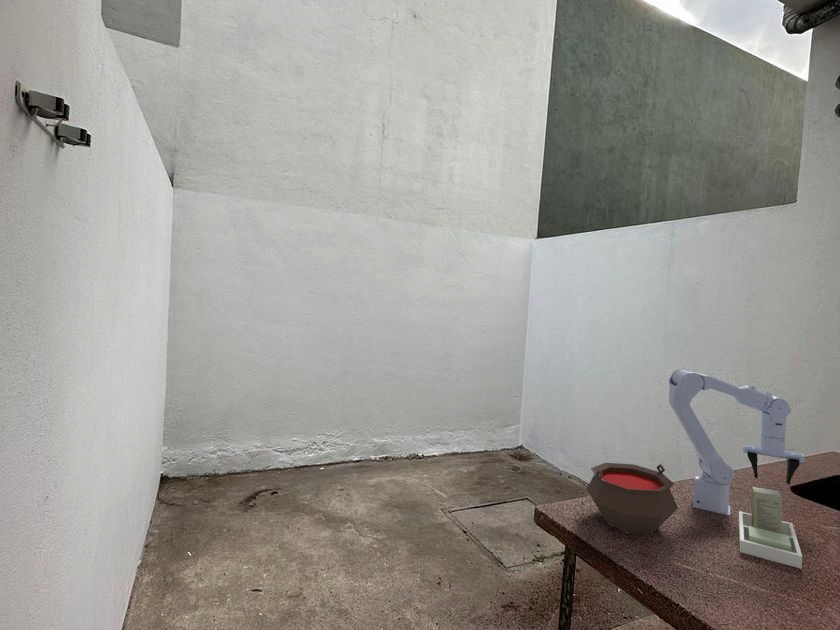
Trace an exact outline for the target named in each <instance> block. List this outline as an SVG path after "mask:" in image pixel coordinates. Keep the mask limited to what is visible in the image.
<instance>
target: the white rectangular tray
mask: <svg viewBox="0 0 840 630" xmlns="http://www.w3.org/2000/svg"><path fill="white" fill-rule="evenodd" d="M751 524H752V513H748V512H745V511H740V510H739V511H738V538H739V541H738V542H739V552H740V553H742V554H745V555H749V556H752V557H757V558H760V559H764V560H768V561H772V562H775V563H778V564H782V565H787V566H790V567H794V568H798V569H799V570H802V569H803V555H802V551H801V548H800V544H799V541H798V538H797V534H796V531H795V528H794V524H793V523H792V522H789V521H785V520H784V521H783V520H782V534H784V535H788V536H789V540H790V544H791V549H790V552H789V551H785V550H781V549H777V548H774V547H770V546H766V545H762V544H758V543H754V542H750V541H749V526H752V525H751Z"/></svg>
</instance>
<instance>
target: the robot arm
mask: <svg viewBox="0 0 840 630" xmlns="http://www.w3.org/2000/svg"><path fill="white" fill-rule="evenodd" d="M668 384H669V391H668V392H669V393H668V402H669V405H670V406H671V409H672V410H673V412H674V415H675V416H676V418H677V419H678V421H679V423H680V425H681V427H682V428H683V430H684V432H685V433H686V435H687V437H688V438H689V441H690V442H691V444H692V446H693V447H694V449H695V451H696V456H697V459H698V465H699V468H700V470H701V471H702V475H701V476H697V475H695V476H694V477H693V479H694V481H693V493H692V500H693V502H692V503H693V505H692V507H693V508H697V509H701V510H703V511H709V512H713V513H717V514H720V515H721V514H722V515H726V516H731V505H729V503H730V483H731V482H732V481H733V479H734V476H735V473H734V472H735V471H734V469H733V468H732V467H731V466H730V465H728V464H727V463H726V462H725V461H724V459H723V457H722V456H721V454H719V453H718V451H717V450H716V449H715V447H714V445H713V443H712V441H711V440H710V438H709V437H708V434H707V433H706V431H705V429H704V427H703V426H702V423H701V422H700V421H699V419H698V417H697V415H696V414H695V412H694V410H693V408H692V407H691V406H692V405H691V402H692V400H693V399H694V398H695V397H696V396H697V394H699V393H700V392H701V390H702V391H707V390H711V389H712V390H715V391H717V392H721V393H723V394H726V395H729V396H732V397H734V398H735V400H736V402H737V403H738V404H741V405H743V406H746V407H749V408H751V409H754V410H757V411H760V412H761V435H760V436H761V437H760V446H755V445H746V444H743V445H742V453H743V454H747V458H748V460H749V462H750V465H751V467H752V470H753V476H754V478H755V479H758V459H759V458H758V455H760V456H764V457H772V458H778V459H785V460H786V464H787V465H786V477H785V483H786V485H790V484H791V481H792V479H793V475H794V474H795V472H796V470H797V469H798V468H799V467H800V464H801V463H804V462H805V454H804V453H797V452H794V451H788V450H786V426H787V425H786V424H787V417H788V416H789V415H790V414H791V413H792V408H791V407H790V405H789V402H787V400H785V399H783V398H780V397H778V396H775V395H773V394H772V393H771V392H768V391H767V392H764V391H762V390H758V389H757V387H755V386H754V385H750V384H749V385H742V386H739V387H737V386H736V385H734V384H732V383H731V384H730V383H728V382H725V381H724V380H721V379H718V378H716V377H713V376H710V375H708V374H704V373H701V372H696V371H692V370H691V371H689V370H688V369H684V368H678V369H676V370H674V371H673V372H672V373H671V375H670V377H669V379H668Z"/></svg>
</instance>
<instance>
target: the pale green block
mask: <svg viewBox="0 0 840 630" xmlns="http://www.w3.org/2000/svg"><path fill="white" fill-rule="evenodd" d="M749 541H750V542H754V543H758V544H762V545H766V546H770V547H774V548H777V549H781V550H785V551H789V552H790V549H791V544H790V540H789V536H788V535H784V534H780V533H775V532H771V531H767V530H763V529H759V528H755V527H751V526H749Z"/></svg>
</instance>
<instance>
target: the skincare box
mask: <svg viewBox="0 0 840 630" xmlns="http://www.w3.org/2000/svg"><path fill="white" fill-rule="evenodd" d="M751 514H752V524H751V525H752V526H751V527H755V528H759V529H763V530H767V531H771V532H775V533H780V534H782V521H783V496H782V494H781V492H780V491H779V490H776V489H769V488H763V487H757V486H751Z"/></svg>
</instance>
